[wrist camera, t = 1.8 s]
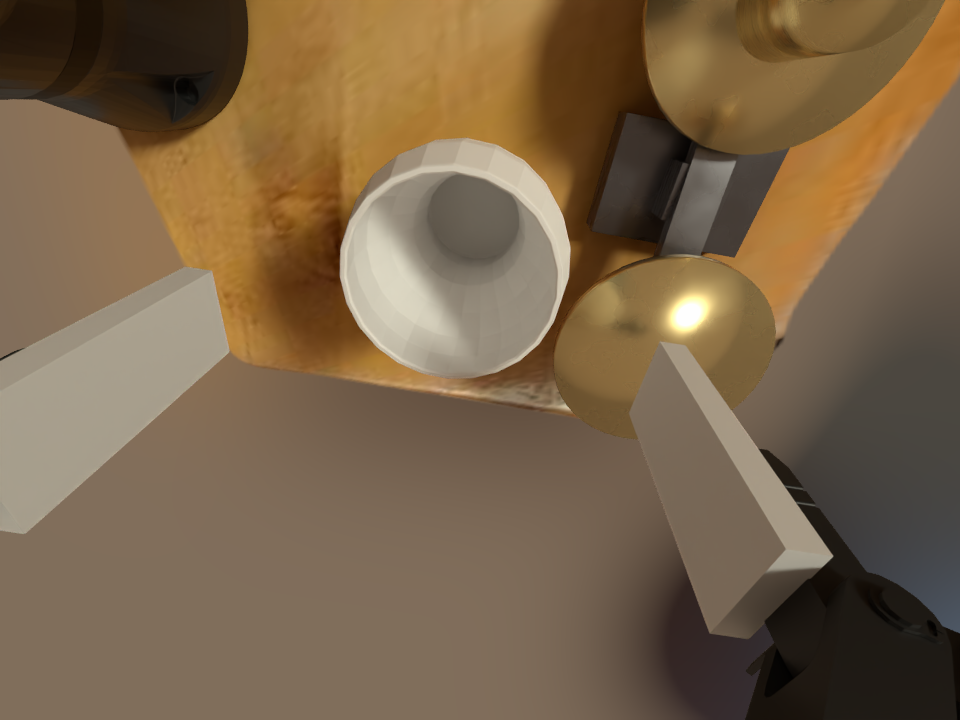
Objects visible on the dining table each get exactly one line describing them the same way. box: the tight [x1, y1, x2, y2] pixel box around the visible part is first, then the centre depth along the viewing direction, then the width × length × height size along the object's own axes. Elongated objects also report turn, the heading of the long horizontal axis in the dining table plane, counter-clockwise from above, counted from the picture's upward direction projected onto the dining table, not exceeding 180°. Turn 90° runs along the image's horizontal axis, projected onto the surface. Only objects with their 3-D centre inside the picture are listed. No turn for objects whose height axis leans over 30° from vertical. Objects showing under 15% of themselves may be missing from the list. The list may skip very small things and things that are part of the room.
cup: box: [340, 138, 570, 379], centre depth 24 cm, size 11×11×15 cm
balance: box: [553, 0, 945, 439], centre depth 23 cm, size 13×31×12 cm, turn 171°
